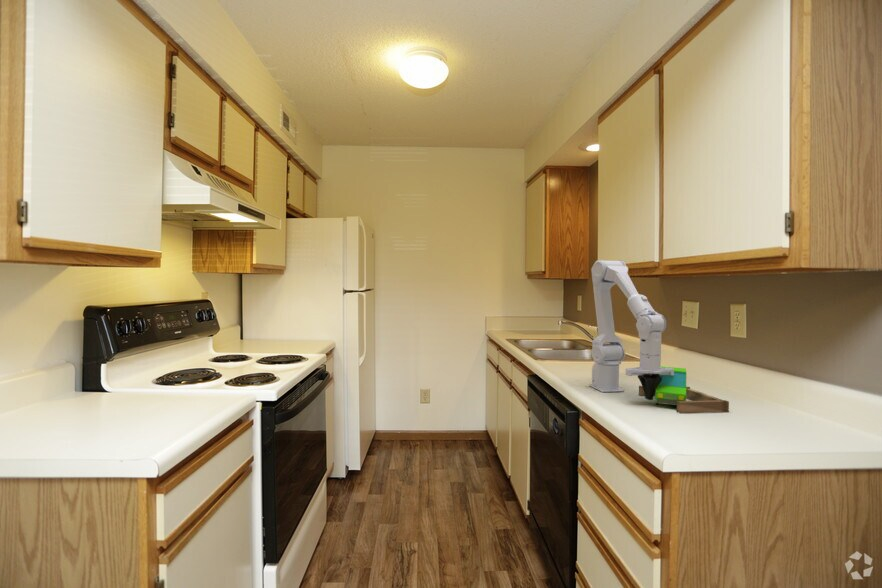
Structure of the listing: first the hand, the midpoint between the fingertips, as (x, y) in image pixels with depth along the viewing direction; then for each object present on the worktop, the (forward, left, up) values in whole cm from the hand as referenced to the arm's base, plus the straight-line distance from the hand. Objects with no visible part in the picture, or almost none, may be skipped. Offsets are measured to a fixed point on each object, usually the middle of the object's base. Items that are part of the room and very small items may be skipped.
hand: (649, 399), depth 131 cm
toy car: (0, +7, -2) cm, 7 cm away
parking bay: (0, +10, -1) cm, 10 cm away
